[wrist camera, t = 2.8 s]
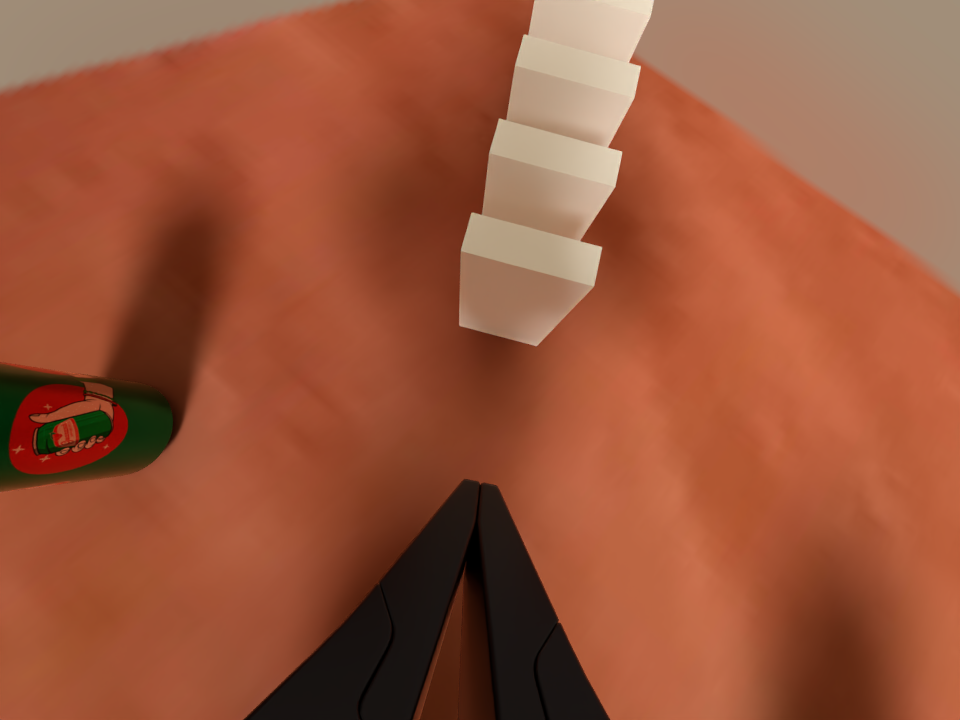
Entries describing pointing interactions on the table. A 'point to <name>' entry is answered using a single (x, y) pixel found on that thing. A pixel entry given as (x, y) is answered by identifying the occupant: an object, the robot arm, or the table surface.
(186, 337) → the table surface
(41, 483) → the soda can
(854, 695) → the table surface
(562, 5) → the domino
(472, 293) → the domino
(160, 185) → the table surface
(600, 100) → the domino
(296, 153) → the table surface
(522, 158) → the domino
